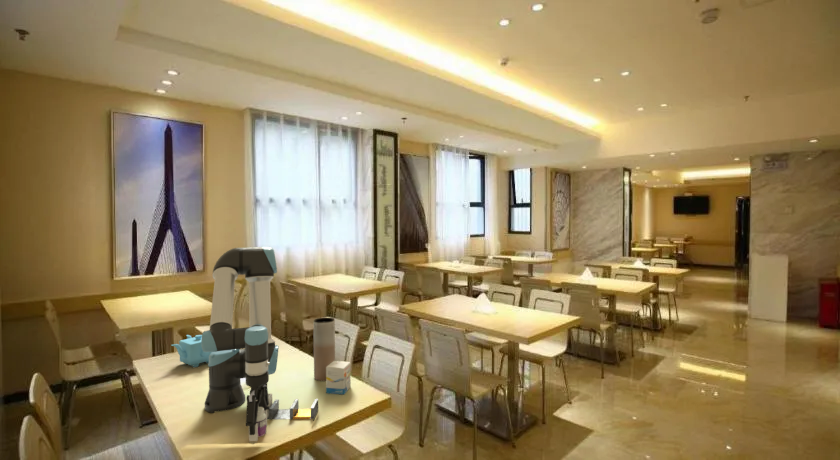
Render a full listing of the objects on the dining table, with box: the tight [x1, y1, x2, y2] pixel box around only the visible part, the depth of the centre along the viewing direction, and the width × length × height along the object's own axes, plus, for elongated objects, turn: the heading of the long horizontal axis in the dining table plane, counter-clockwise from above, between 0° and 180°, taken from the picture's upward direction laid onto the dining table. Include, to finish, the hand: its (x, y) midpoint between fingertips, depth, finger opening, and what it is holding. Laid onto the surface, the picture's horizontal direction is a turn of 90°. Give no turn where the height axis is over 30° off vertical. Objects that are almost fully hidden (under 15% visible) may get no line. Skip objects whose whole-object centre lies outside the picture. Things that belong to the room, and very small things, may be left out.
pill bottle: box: [256, 407, 267, 438], centre depth 147 cm, size 5×5×10 cm
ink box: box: [325, 360, 352, 395], centre depth 186 cm, size 9×8×12 cm
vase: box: [312, 316, 336, 382], centre depth 200 cm, size 10×10×28 cm
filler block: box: [256, 393, 273, 418], centre depth 161 cm, size 5×5×7 cm
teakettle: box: [171, 334, 212, 368], centre depth 221 cm, size 19×19×15 cm
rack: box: [267, 398, 319, 422], centre depth 162 cm, size 24×8×5 cm, turn 92°
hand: (258, 435), depth 148 cm, fingers open, 9 cm apart
